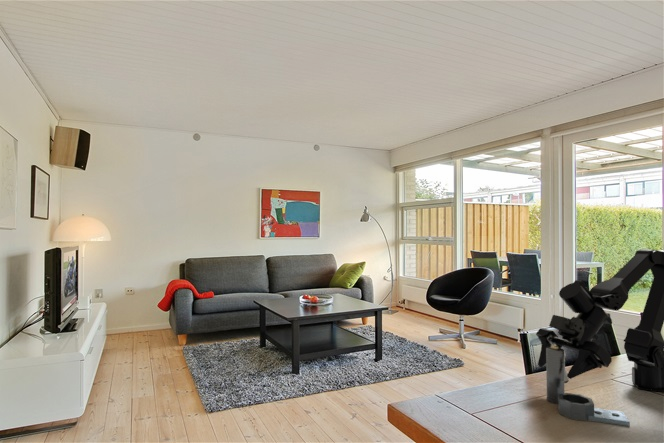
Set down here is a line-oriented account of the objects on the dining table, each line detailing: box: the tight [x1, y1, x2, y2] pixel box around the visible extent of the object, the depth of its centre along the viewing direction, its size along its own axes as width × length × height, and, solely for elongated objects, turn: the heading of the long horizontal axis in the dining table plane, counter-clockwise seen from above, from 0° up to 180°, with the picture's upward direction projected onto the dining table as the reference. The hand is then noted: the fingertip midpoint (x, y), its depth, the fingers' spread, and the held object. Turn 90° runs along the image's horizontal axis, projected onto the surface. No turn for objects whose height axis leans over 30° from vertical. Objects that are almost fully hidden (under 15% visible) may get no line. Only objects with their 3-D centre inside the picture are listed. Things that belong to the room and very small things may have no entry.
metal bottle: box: [545, 345, 565, 405], centre depth 107 cm, size 4×4×14 cm
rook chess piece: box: [564, 351, 570, 383], centre depth 123 cm, size 4×4×8 cm
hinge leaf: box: [557, 392, 630, 427], centre depth 98 cm, size 14×7×4 cm, turn 68°
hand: (553, 371), depth 107 cm, fingers open, 9 cm apart
